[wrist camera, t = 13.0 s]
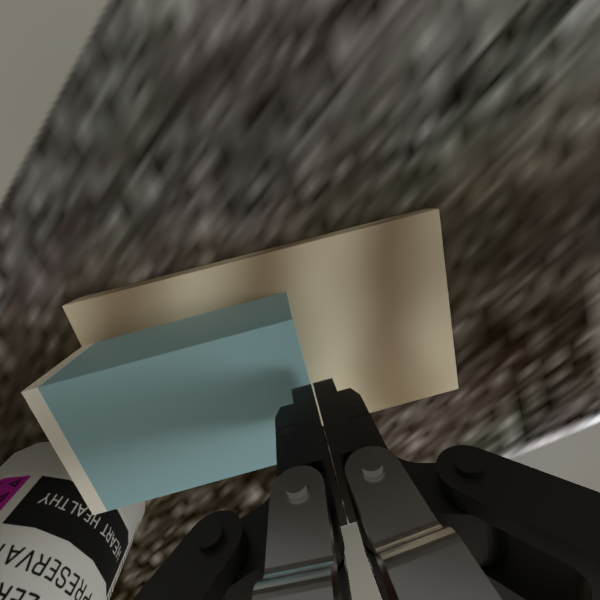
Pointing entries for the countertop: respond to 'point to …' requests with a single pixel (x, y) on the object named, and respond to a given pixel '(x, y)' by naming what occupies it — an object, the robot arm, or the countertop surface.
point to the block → (172, 403)
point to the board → (320, 305)
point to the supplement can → (57, 533)
